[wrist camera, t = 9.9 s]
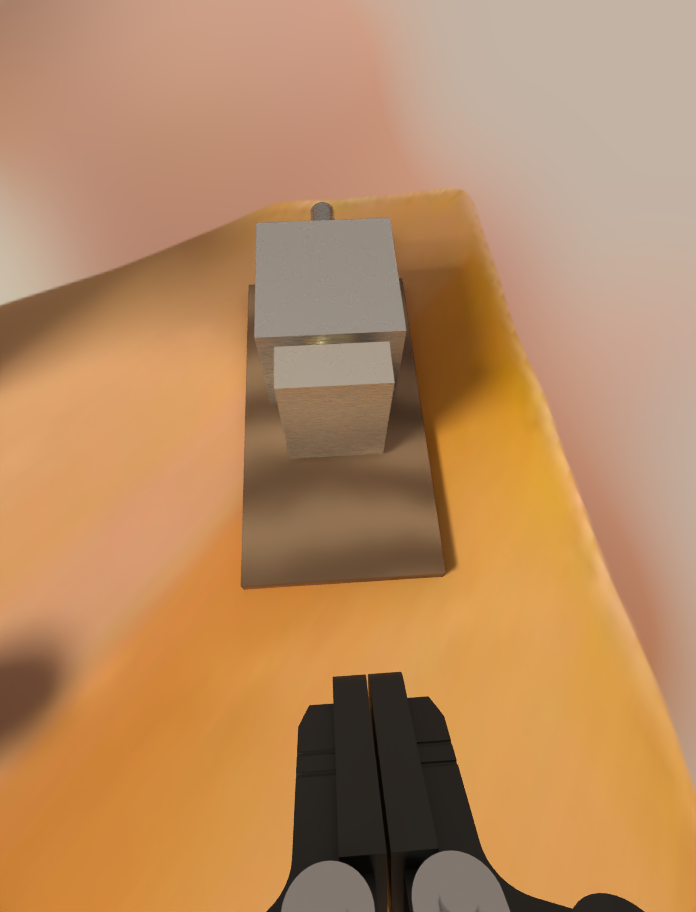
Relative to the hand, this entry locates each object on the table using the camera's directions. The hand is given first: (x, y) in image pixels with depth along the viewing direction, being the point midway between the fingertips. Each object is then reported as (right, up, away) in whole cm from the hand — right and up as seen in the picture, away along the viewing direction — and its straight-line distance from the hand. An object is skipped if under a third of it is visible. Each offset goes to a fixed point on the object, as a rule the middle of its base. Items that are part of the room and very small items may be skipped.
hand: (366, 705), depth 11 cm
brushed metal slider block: (-2, +15, +31) cm, 35 cm away
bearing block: (-2, +15, +32) cm, 35 cm away
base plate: (-2, +9, +30) cm, 31 cm away
